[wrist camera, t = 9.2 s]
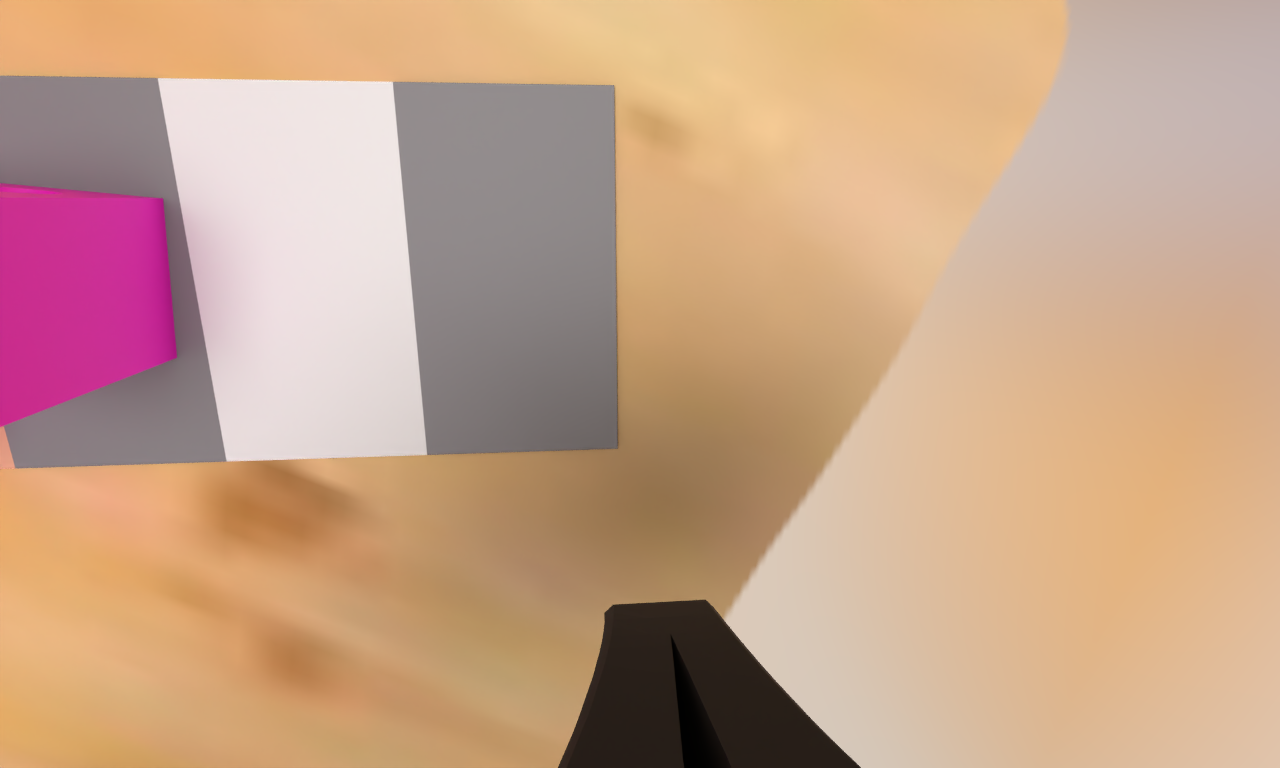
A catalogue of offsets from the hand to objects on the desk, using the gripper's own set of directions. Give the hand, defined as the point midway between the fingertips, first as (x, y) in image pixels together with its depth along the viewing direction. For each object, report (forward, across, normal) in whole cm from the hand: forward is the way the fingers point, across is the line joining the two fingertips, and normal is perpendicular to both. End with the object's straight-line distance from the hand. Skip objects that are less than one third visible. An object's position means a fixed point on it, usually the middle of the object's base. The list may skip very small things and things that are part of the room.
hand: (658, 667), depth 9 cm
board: (+9, +12, -4) cm, 16 cm away
